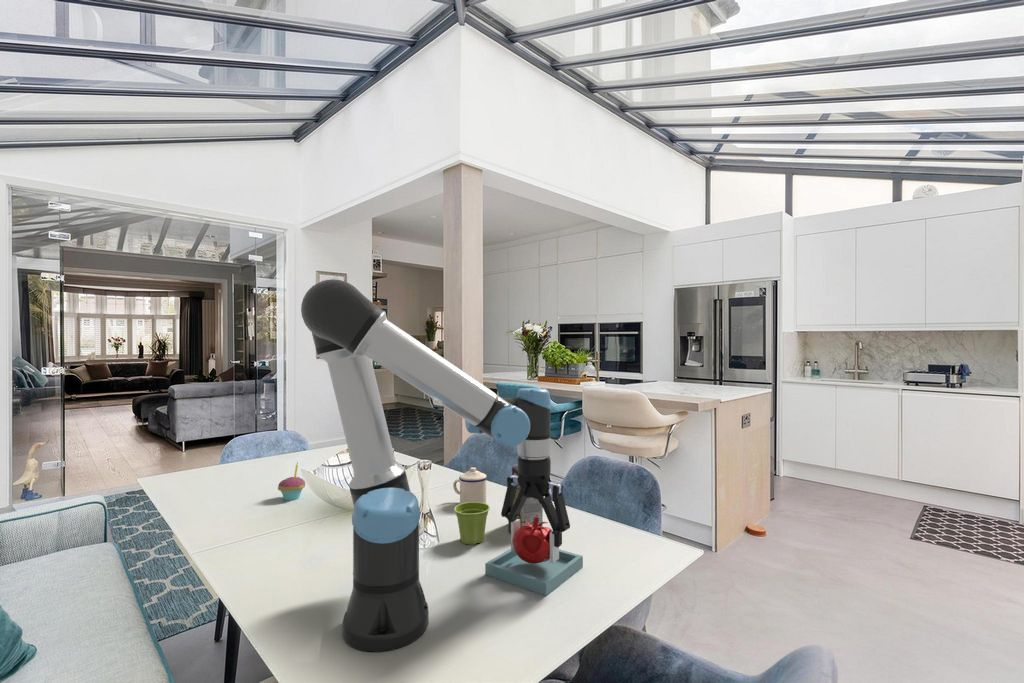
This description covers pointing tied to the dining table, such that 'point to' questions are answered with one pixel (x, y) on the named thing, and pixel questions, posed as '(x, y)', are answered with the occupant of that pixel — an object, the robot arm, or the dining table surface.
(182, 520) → the dining table surface
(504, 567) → the dish
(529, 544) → the pomegranate
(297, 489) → the cupcake
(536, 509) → the coffee box
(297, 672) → the dining table surface
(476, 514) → the plant pot
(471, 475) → the teacup with lid
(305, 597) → the dining table surface
